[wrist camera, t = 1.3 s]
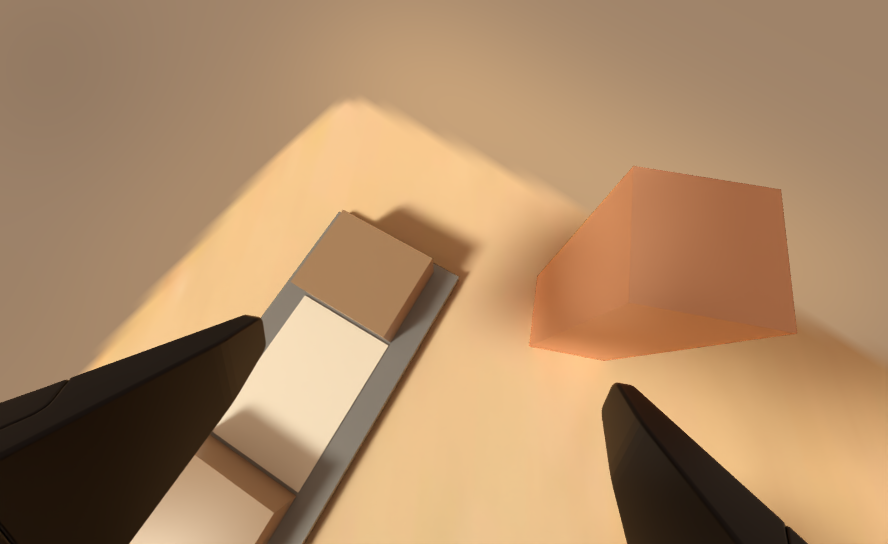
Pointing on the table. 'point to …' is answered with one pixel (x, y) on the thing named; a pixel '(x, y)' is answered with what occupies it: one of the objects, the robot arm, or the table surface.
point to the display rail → (307, 392)
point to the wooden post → (668, 270)
